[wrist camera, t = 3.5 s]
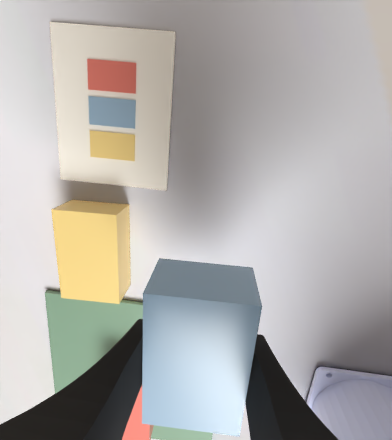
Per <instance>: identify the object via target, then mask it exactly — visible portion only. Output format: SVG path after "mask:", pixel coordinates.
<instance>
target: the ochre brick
mask: <svg viewBox="0 0 392 440" xmlns="http://www.w3.org/2000/svg"><path fill="white" fill-rule="evenodd" d="M52 219H53V228H54V237H55V246H56V255H57V264H58V273H59V282H60V291H61V298H66V299H76V300H85V301H95V302H104V303H114V304H120V302H121V300H122V299H123V297H124V295H125V293H126V292H127V290H128V288H129V286H130V285H131V282H130V223H129V204H117V203H105V202H93V201H81V200H70V201H68V202H66V203H64V204H62V205H60V206H58V207H56V208H54V209H52Z"/></svg>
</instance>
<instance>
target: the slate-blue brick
mask: <svg viewBox="0 0 392 440" xmlns="http://www.w3.org/2000/svg"><path fill="white" fill-rule="evenodd" d="M261 309H262V304H261V300H260V296H259V292H258V288H257V283H256V279H255V275H254V271H253V268H251V267H240V266H230V265H220V264H210V263H200V262H190V261H180V260H170V259H160V258H159V260H158V262H157V264H156V267H155V269H154V271H153V273H152V275H151V277H150V280H149V282H148V284H147V286H146V288H145V290H144V293H143V359H142V424H149V425H156V426H164V427H171V428H179V429H186V430H194V431H201V432H209V433H216V434H224V435H231V436H239V437H240V431H241V425H242V419H243V413H244V408H245V402H246V396H247V390H248V384H249V379H250V373H251V367H252V361H253V355H254V350H255V344H256V338H257V332H258V326H259V321H260V315H261Z"/></svg>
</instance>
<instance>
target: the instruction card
mask: <svg viewBox="0 0 392 440" xmlns="http://www.w3.org/2000/svg"><path fill="white" fill-rule="evenodd" d="M50 35H51V50H52V64H53V78H54V93H55V107H56V121H57V135H58V150H59V164H60V178H61V179H62V180H71V181H81V182H90V183H99V184H109V185H118V186H127V187H137V188H146V189H155V190H165V191H167V180H168V163H169V145H170V127H171V109H172V91H173V74H174V56H175V38H176V32H175V31H163V30H150V29H137V28H124V27H110V26H97V25H84V24H71V23H58V22H50Z"/></svg>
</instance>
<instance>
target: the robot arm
mask: <svg viewBox="0 0 392 440" xmlns="http://www.w3.org/2000/svg"><path fill="white" fill-rule="evenodd" d="M142 359H143V319H138V320H137V321H136V322H135V323H134V325H133V326H132V327H131V328H130V329H129V330H128V332H127V333H126V334H125V335H124V336H123V337H122V338H121V339H120V340H119V341H118V342H117V343H116V344H115V345H114V346H113V347H112V348H111V349H110V350H109V351H108V352H107V353H106V354H105V355H104V356H103V357H102V358H101V359H100V360H99V361H97V362H96V363H95V364H94V365H93V366H92V367H91V368H89V369H88V370H87V371H86V372H85V373H83V374H82V375H81V376H79V377H78V378H77V379H76V380H74V381H73V382H71V383H70V384H69V385H67V386H66V387H64V388H63V389H62V390H60V391H59V392H57V393H56V394H54V395H53V396H51V397H49V398H48V399H46V400H44V401H43V402H41V403H40V404H38V405H36V406H35V407H33V408H31V409H29V410H28V411H26V412H24V413H22V414H20V415H18V416H16V417H14V418H12V419H10V420H8V421H6V422H4V423H3V424H1V425H0V440H122V438H123V435H124V432H125V428H126V426H127V423H128V420H129V418H130V415H131V412H132V409H133V407H134V404H135V401H136V399H137V396H138V393H139V391H140V388H141V385H142ZM327 373H329V374H327ZM246 409H247V416H248V423H249V430H250V437H251V440H392V376H387V375H379V374H372V373H365V372H357V371H350V370H343V369H336V368H328V367H318V368H317V369H316V371H315V375H314V378H313V381H312V385H311V388H310V392H309V395H308V398H307V402H305V401H304V399H303V398H302V397H301V395H300V394H299V393H298V391H297V390H296V388H295V387H294V386H293V384H292V383H291V381H290V380H289V378H288V377H287V375H286V374H285V372H284V370H283V369H282V367H281V366H280V364H279V362H278V361H277V359H276V357H275V356H274V354H273V352H272V351H271V349H270V347H269V345H268V343H267V341H266V339H265V338H264V336H263V335H258V334H257V338H256V344H255V350H254V355H253V361H252V367H251V373H250V379H249V384H248V390H247V396H246Z"/></svg>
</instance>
